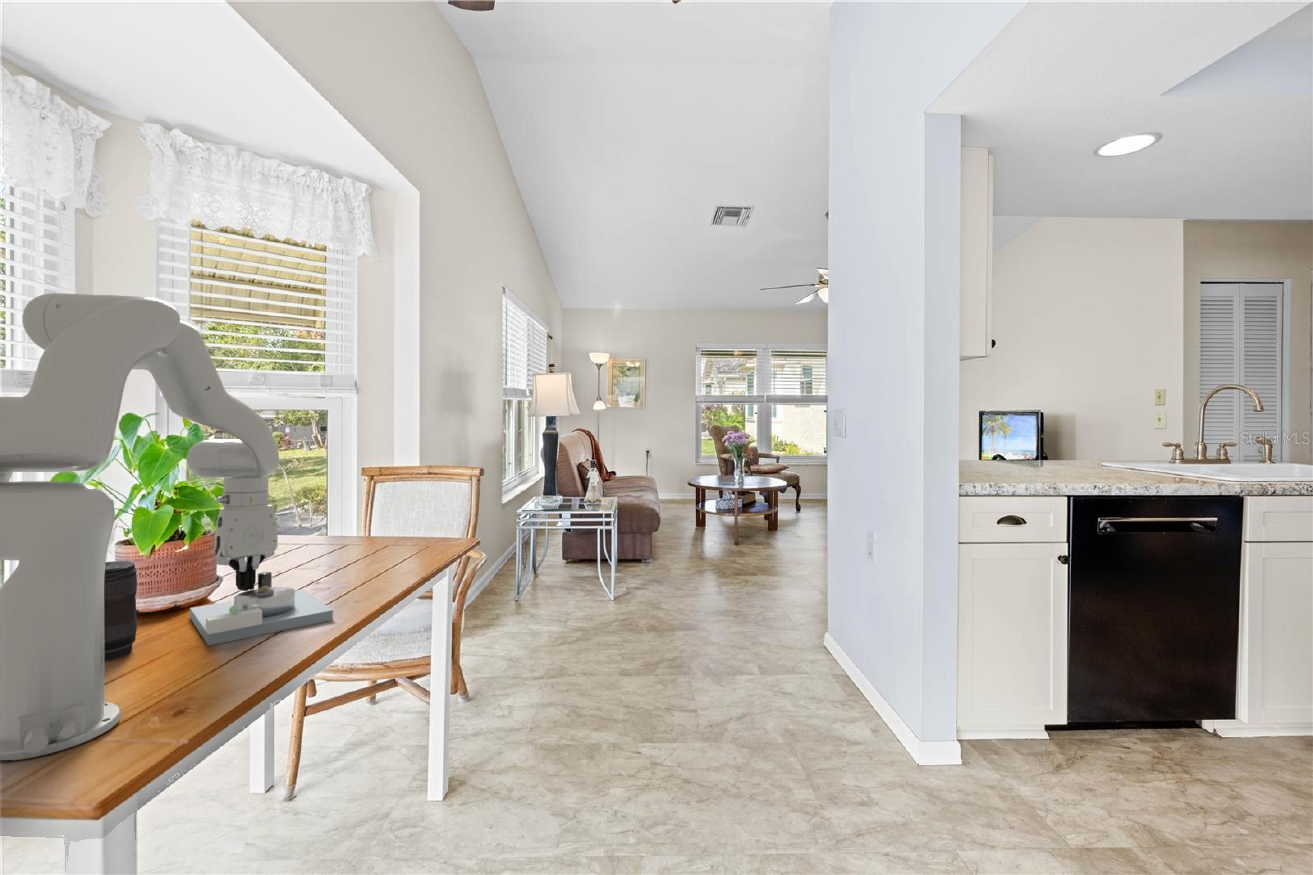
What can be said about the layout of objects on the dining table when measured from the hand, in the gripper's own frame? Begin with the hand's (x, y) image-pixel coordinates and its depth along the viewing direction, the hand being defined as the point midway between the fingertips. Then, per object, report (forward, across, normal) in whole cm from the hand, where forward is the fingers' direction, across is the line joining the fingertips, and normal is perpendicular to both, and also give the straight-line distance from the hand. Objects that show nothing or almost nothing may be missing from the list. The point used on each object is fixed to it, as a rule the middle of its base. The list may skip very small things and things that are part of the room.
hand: (245, 589), depth 121 cm
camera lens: (+5, -24, -4) cm, 25 cm away
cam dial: (+3, 0, -6) cm, 7 cm away
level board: (+5, -1, -7) cm, 8 cm away
